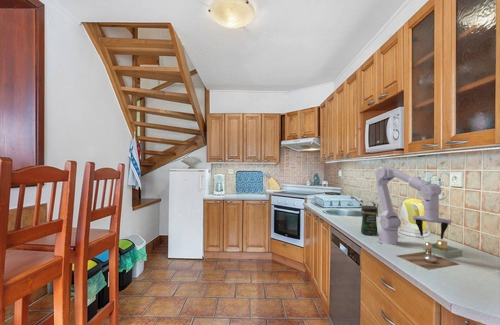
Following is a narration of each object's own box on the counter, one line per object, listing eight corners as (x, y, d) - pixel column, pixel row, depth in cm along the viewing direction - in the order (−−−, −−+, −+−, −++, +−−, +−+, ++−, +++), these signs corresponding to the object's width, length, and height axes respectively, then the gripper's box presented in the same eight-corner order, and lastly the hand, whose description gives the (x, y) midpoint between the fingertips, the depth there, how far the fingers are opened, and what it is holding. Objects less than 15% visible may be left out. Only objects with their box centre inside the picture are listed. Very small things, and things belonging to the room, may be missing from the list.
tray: (422, 251, 123) (422, 244, 123) (438, 249, 126) (438, 242, 126) (445, 259, 112) (445, 252, 112) (462, 257, 115) (462, 249, 116)
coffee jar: (362, 235, 152) (362, 206, 152) (360, 231, 159) (359, 204, 160) (379, 236, 149) (379, 207, 150) (375, 232, 157) (375, 205, 157)
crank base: (395, 257, 115) (395, 255, 115) (425, 253, 120) (425, 251, 120) (428, 272, 99) (428, 269, 99) (461, 266, 105) (461, 263, 105)
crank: (436, 263, 105) (436, 250, 105) (424, 261, 107) (424, 248, 107) (434, 255, 114) (433, 243, 114) (422, 253, 117) (422, 241, 117)
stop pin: (435, 252, 121) (435, 240, 121) (441, 251, 121) (441, 240, 122) (443, 255, 117) (443, 243, 117) (449, 254, 118) (449, 242, 118)
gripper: (412, 208, 116) (412, 235, 116) (450, 212, 106) (451, 242, 106) (414, 206, 121) (414, 232, 121) (451, 209, 111) (451, 238, 111)
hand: (431, 237), depth 114 cm, fingers open, 7 cm apart
